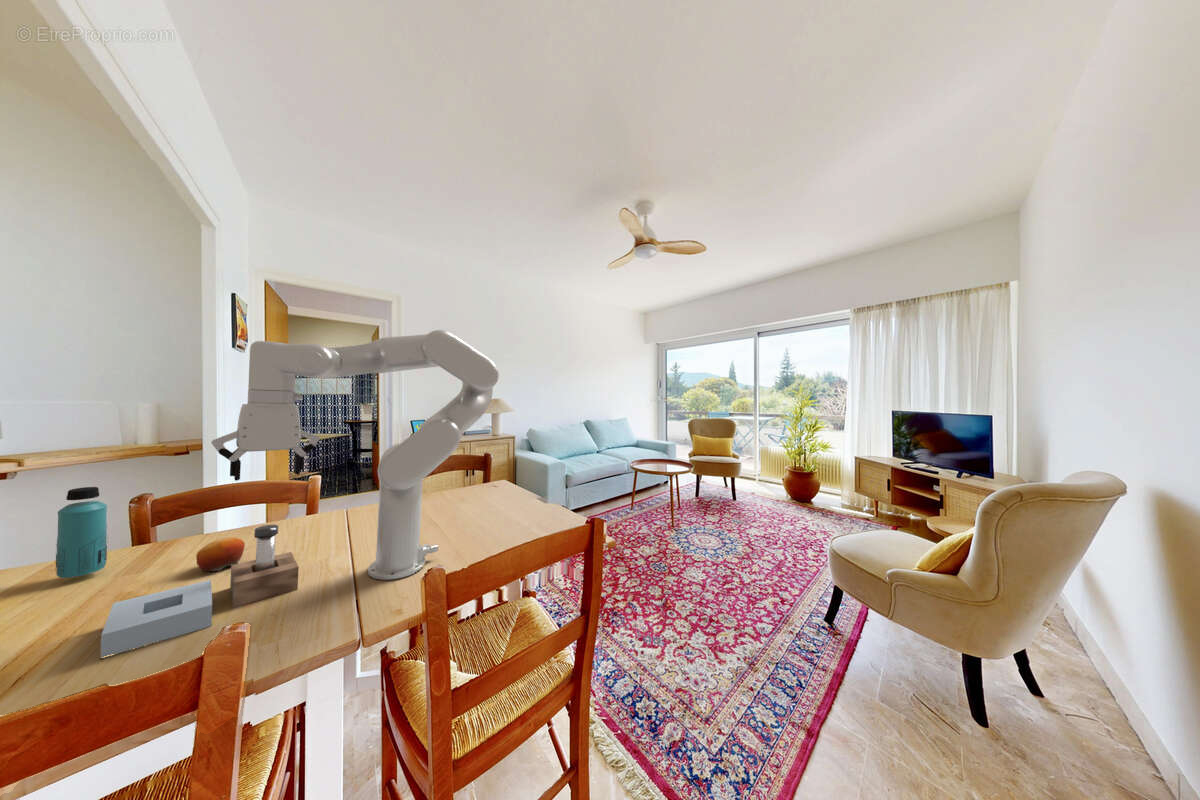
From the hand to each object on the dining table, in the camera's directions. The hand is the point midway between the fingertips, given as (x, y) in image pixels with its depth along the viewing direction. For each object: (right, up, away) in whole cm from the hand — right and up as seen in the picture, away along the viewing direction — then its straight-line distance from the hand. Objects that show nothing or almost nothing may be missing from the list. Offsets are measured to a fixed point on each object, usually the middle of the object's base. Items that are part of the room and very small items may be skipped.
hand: (268, 476), depth 78 cm
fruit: (-19, -24, +8) cm, 32 cm away
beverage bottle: (-42, -23, +1) cm, 48 cm away
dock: (-8, -25, -13) cm, 29 cm away
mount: (-1, -25, 0) cm, 25 cm away
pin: (-1, -25, 0) cm, 25 cm away
